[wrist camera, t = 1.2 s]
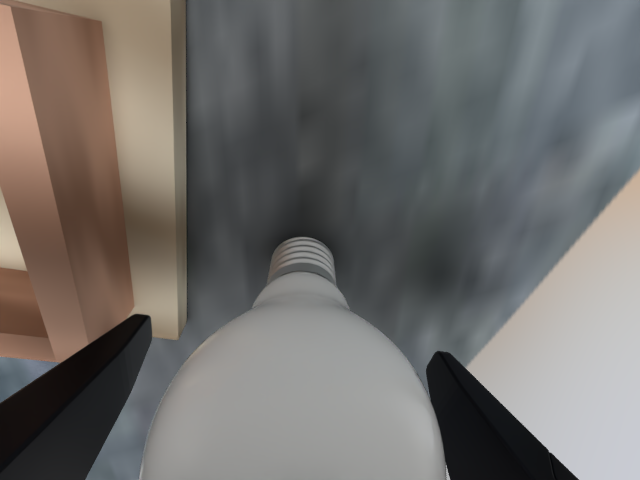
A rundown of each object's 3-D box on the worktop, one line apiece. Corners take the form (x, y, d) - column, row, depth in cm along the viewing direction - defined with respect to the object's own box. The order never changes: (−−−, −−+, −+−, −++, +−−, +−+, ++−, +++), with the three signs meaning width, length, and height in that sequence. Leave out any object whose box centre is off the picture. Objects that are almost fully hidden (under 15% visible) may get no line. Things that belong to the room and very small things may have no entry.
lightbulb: (248, 314, 16) (155, 713, 6) (212, 197, 12) (-99, 660, 3) (374, 301, 15) (479, 690, 6) (372, 179, 12) (593, 607, 3)
